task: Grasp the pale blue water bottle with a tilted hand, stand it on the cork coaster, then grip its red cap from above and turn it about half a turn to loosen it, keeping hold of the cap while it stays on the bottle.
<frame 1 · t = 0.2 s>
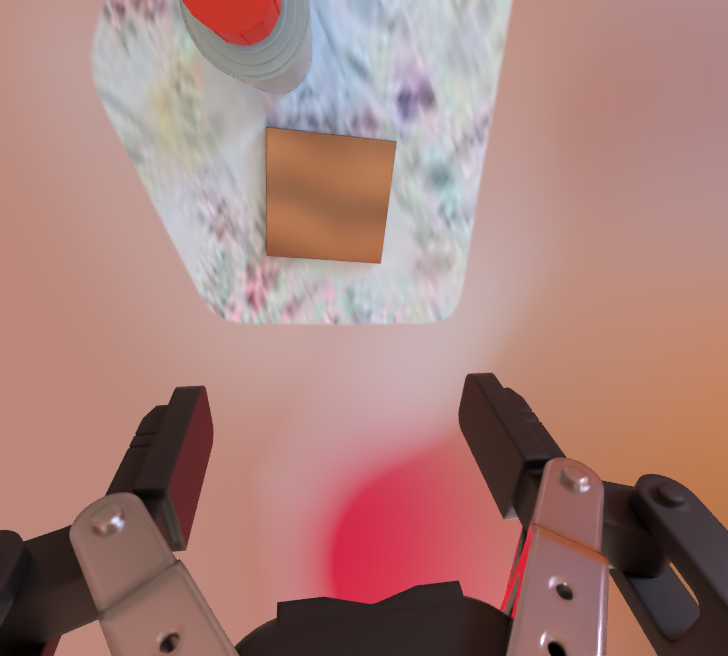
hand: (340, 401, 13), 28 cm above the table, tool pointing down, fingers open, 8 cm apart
coaster: (328, 200, 37), on the table
bottle: (273, 48, 31), on the table
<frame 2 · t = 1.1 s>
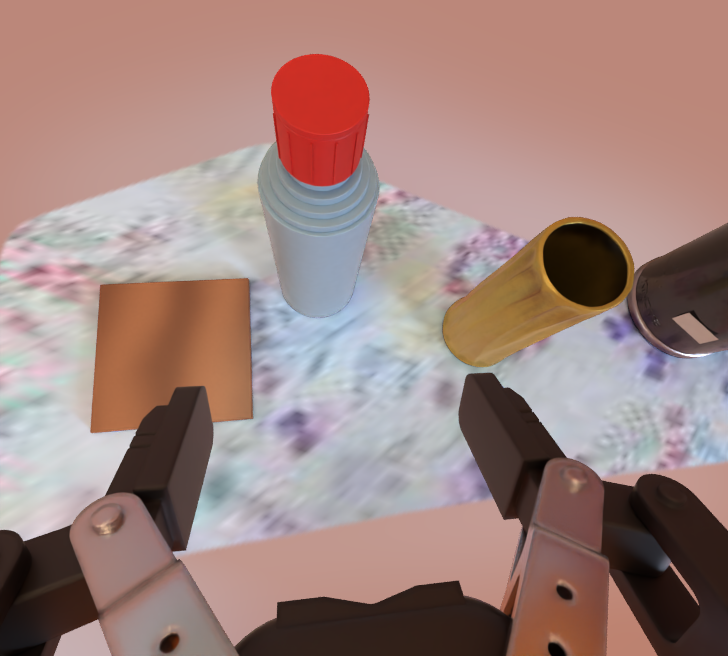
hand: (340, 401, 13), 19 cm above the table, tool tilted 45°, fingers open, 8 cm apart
coaster: (176, 351, 31), on the table
vase: (476, 332, 34), on the table
cap: (320, 99, 15), point 19 cm above the table, screwed on, not yet turned
bottle: (317, 282, 33), on the table
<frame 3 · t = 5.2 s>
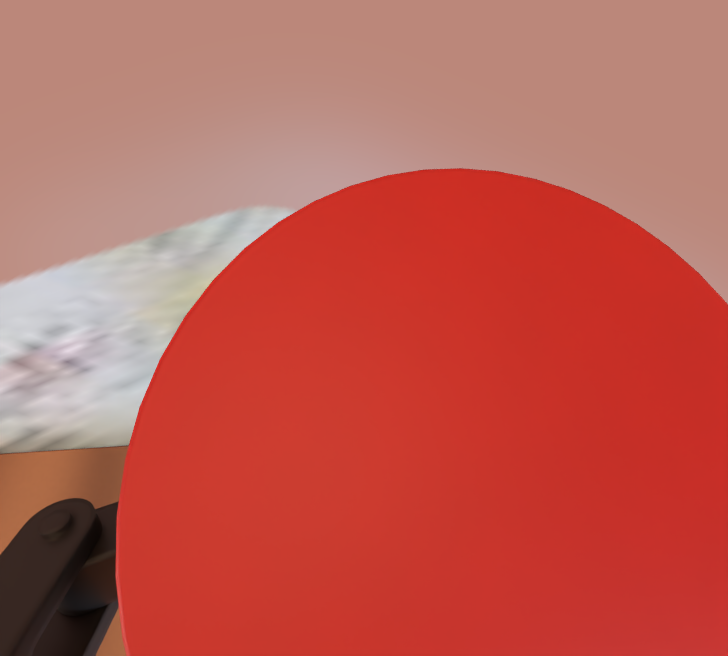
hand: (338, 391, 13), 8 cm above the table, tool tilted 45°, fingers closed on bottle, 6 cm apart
coaster: (84, 578, 18), on the table
cap: (483, 476, 2), point 19 cm above the table, screwed on, not yet turned
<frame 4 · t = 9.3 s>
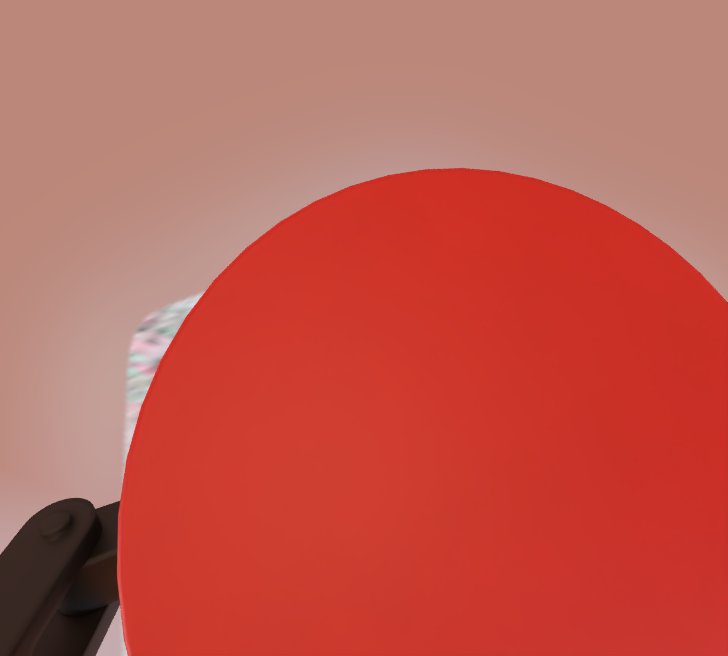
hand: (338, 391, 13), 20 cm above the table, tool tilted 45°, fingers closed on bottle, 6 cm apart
cap: (484, 477, 2), point 31 cm above the table, screwed on, not yet turned
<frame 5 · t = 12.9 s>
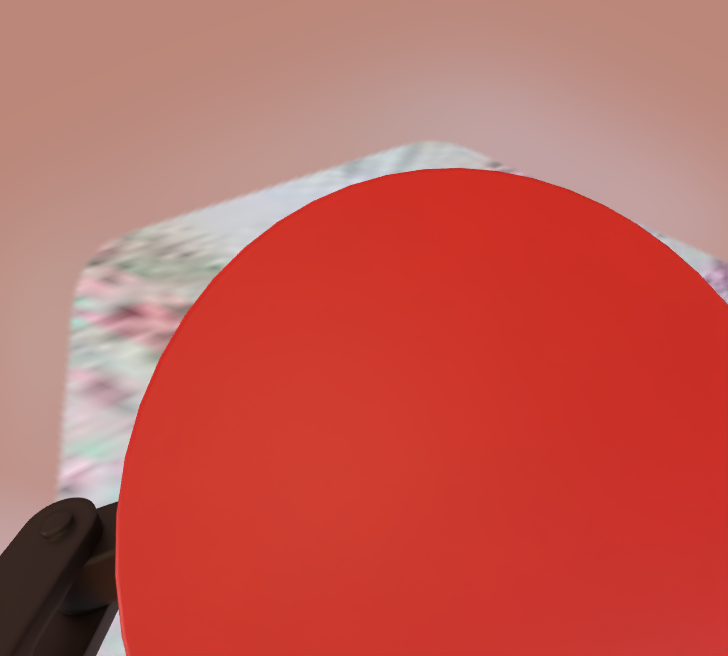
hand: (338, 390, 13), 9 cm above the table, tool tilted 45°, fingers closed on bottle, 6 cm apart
cap: (482, 476, 2), point 20 cm above the table, screwed on, not yet turned
when the fingers open (9 cm above the table, at t = 13.0 s): bottle stays where it is, resting on coaster.
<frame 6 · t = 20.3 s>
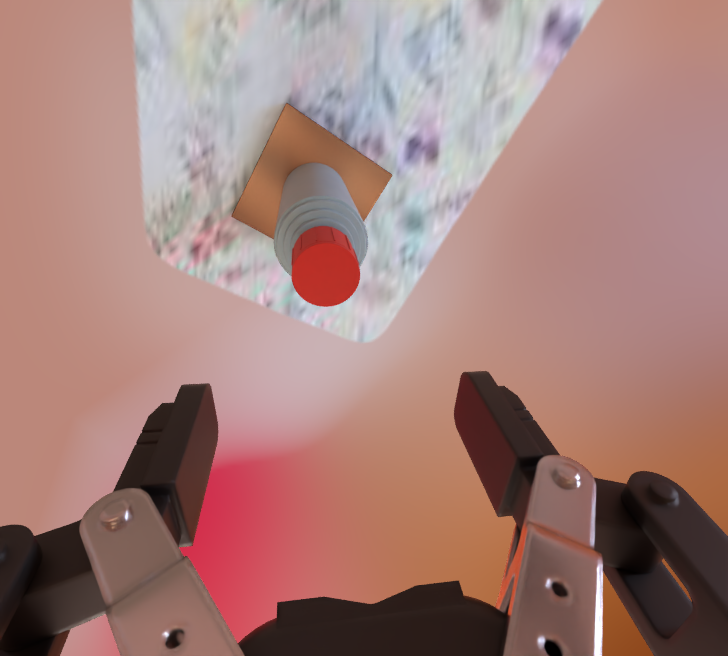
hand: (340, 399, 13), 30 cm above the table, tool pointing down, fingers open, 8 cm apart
coaster: (312, 194, 38), on the table
cap: (325, 274, 21), point 20 cm above the table, screwed on, not yet turned
bottle: (315, 196, 38), resting on coaster
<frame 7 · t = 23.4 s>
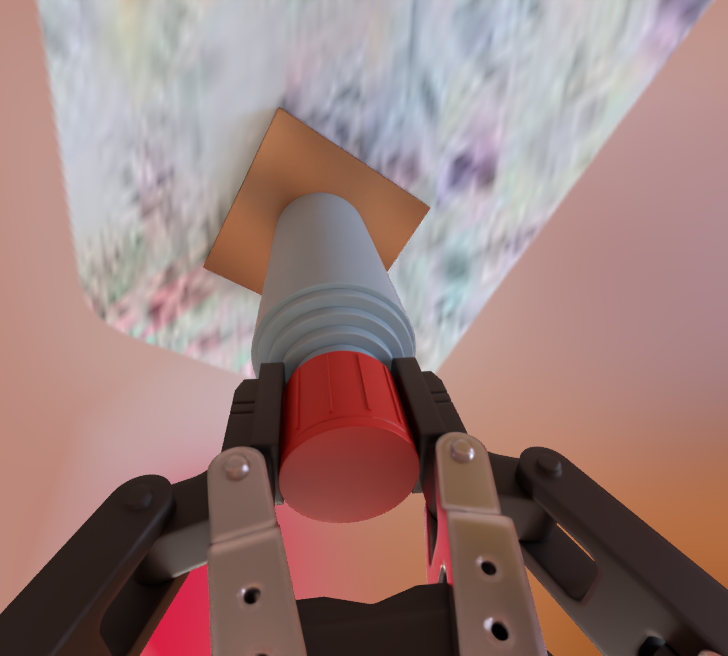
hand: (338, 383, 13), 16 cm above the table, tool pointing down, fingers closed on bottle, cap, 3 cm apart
coaster: (316, 235, 27), on the table
cap: (349, 469, 10), point 20 cm above the table, screwed on, not yet turned, touching gripper
bottle: (321, 239, 27), point 1 cm above the table, touching coaster, gripper
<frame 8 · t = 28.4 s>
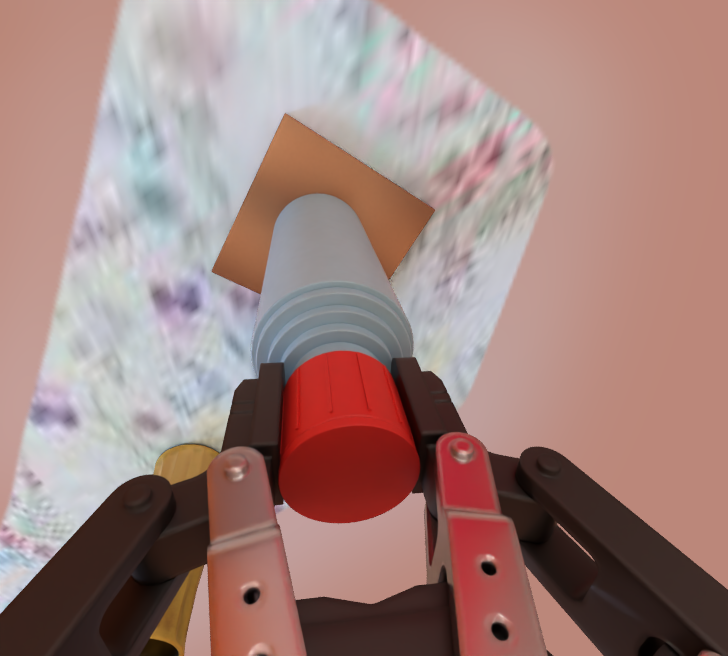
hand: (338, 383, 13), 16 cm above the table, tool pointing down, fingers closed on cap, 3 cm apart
coaster: (322, 238, 27), on the table
vase: (193, 465, 36), on the table
cap: (349, 469, 10), point 20 cm above the table, turned 179° so far, risen 0.2 cm, still on its thread, touching gripper
bottle: (319, 239, 27), point 1 cm above the table, touching coaster
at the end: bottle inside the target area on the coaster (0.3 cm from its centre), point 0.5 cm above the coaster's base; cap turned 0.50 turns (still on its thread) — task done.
